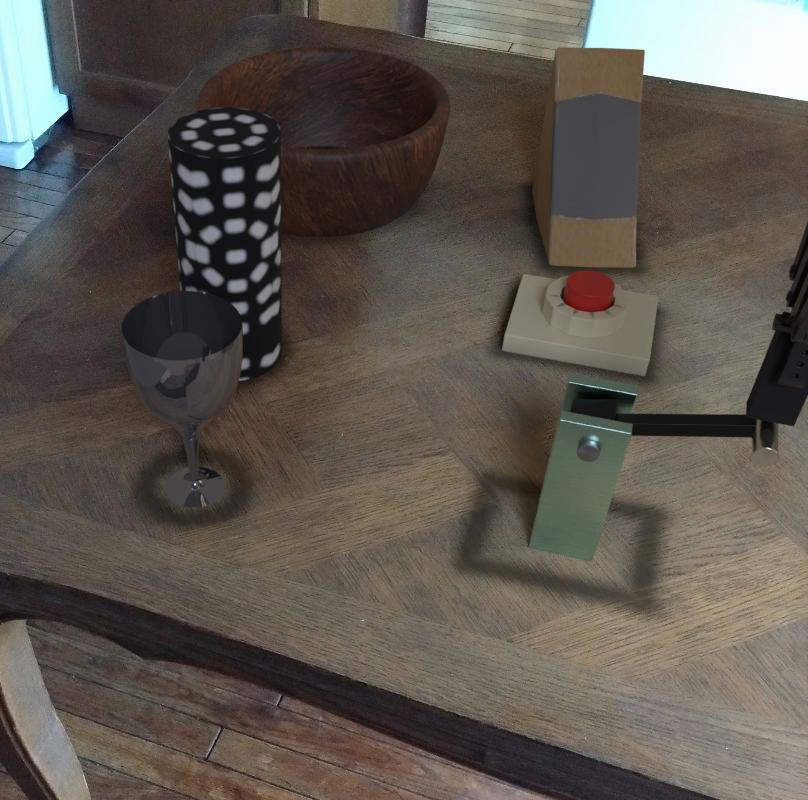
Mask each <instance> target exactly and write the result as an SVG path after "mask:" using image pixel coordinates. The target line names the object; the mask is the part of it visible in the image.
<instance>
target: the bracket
mask: <svg viewBox="0 0 808 800" xmlns="http://www.w3.org/2000/svg"><path fill="white" fill-rule="evenodd" d="M639 387H640V386H639V385H636V384H631V383H625V382H621V381H614V380H608V379H603V378H597V377H592V376H587V375H581V374H576V373H569V374H568V378H567V382H566V386H565V390H564V393H563V394H564V395H563V399H562V401H561V402H562V403H561V408H560V411H559V415H558V419H557V423H556V428H555V432H554V437H553V441H552V445H551V449H550V452H549V457H548V461H547V465H546V470H545V474H544V477H543V482H542V485H541V491H540V494H539V498H538V503H537V507H536V509H537V510H536V514H535V518H534V520H533V521H534V522H533V526H532V530H531V534H530V538H529V543H528V549H531V550H536V551H540V552H546V553H550V554H555V555H559V556H564V557H567V558H568V557H569V558H572V559H577V560H581V561H586V562H591V563H592V562H593V561H594V558H595V555H596V551H597V548H598V545H599V541H600V538H601V535H602V532H603V528H604V526H605V522H606V519H607V516H608V512H609V510H610V506H611V503H612V499H613V496H614V493H615V490H616V486H617V483H618V480H619V477H620V473H621V470H622V468H623V464H624V460H625V457H626V454H627V451H628V447H629V444H630V441H631V438H632V436H631V435H632V429H633V424H630V423H625V422H619V421H614V420H609V419H604V418H598V417H593V416H588V415H583V414H577V413H572V412H570V411H571V406H572V401H573V399H617V400H618V414H633V411H634V408H635V405H636V402H637V398H638V395H639Z"/></svg>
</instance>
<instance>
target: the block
mask: <svg viewBox="0 0 808 800" xmlns="http://www.w3.org/2000/svg"><path fill="white" fill-rule="evenodd" d="M569 276H570V275H565V276H560V277H558V278H552V277H545V276H539V275H534V274H526V273H523V274H522V276H521V279H520V282H519V286H518V290H517V292H516V296H515V299H514V302H513V306H512V309H511V312H510V315H509V318H508V322H507V325H506V329H505V332H504V334H503V335H504V336H503V340H502V346H501V351H503V352H508V353H512V354H519V355H524V356H529V357H535V358H539V359H540V358H541V359H547V360H552V361H557V362H563V363H568V364H575V365H578V366H579V365H580V366H585V367H592V368H597V369H602V370H607V371H613V372H619V373H624V374H628V375H629V374H630V375H636V376H640V377H646V374H647V370H648V369H649V368H648V367H649V365H650V361H651V356H652V355H651V353H652V349H653V347H652V346H653V341H654V340H653V339H654V332H655V326H656V320H657V319H656V318H657V312H658V311H657V310H658V304H659V295H656V294H652V293H651V294H650V293H643V292H638V291H632V290H625V289H623V288H622V286H621V285H619V284H617V283H615V282H614V284H615V289H614V293H613V297H612V301H611V304H610V306H609V308H608V309H606V310H605V311H599V312H592V313H591V312H585V311H579V310H576V309H574V308H572V307H570V306H568V305H566V304H565V302H564V300H563V295H564V290H565V286H566V281H567V278H568V277H569Z"/></svg>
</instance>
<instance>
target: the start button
mask: <svg viewBox="0 0 808 800" xmlns="http://www.w3.org/2000/svg"><path fill="white" fill-rule="evenodd" d="M568 276H569V277H568V278H567V281H566V286H565V290H564V295H563V300H564V302H565V304H566V305H568V306H570V307H572V308H574V309H576V310H579V311H585V312H591V313H592V312H599V311H605V310H606V309H608V308H609V306H610V304H611V301H612V297H613V293H614V289H615V284H616V283H615V282H614V280H613V279H612V278H611V277H610V276H608V275H606V274H605V273H603V272H599V271H596V270H578V271H575V272H572V273H571V274H570V275H568ZM614 283H615V284H614Z"/></svg>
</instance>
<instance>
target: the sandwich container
mask: <svg viewBox="0 0 808 800" xmlns="http://www.w3.org/2000/svg"><path fill="white" fill-rule="evenodd" d="M645 51H646V50H645V49H638V48H615V47H564V46H563V47H561V46H558V47H557V48H556V50H555V51H554V57H553V63H552V69H551V75H550V81H549V86H548V92H547V97H546V98H547V99H546V103H545V111H544V115H543V121H542V127H541V128H542V129H541V134H540V139H539V146H538V153H537V158H536V164H535V170H534V175H533V182H532V187H531V188H532V189H531V194H532V200H533V206H534V212H535V217H536V221H537V224H538V225H537V226H538V229H539V231H540V235H541V236H540V237H541V239H542V243H543V247H544V251H545V254H546V259H547V261H548V264H549V265H550V266H554V267H555V266H556V267H574V268H575V267H576V268H577V267H580V268H636V267H637V229H638V228H637V227H638V226H637V223H638V193H639V191H638V190H639V169H640V145H641V121H642V120H641V119H642V118H641V117H642V97H643V82H644V68H645V55H646V52H645Z"/></svg>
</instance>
